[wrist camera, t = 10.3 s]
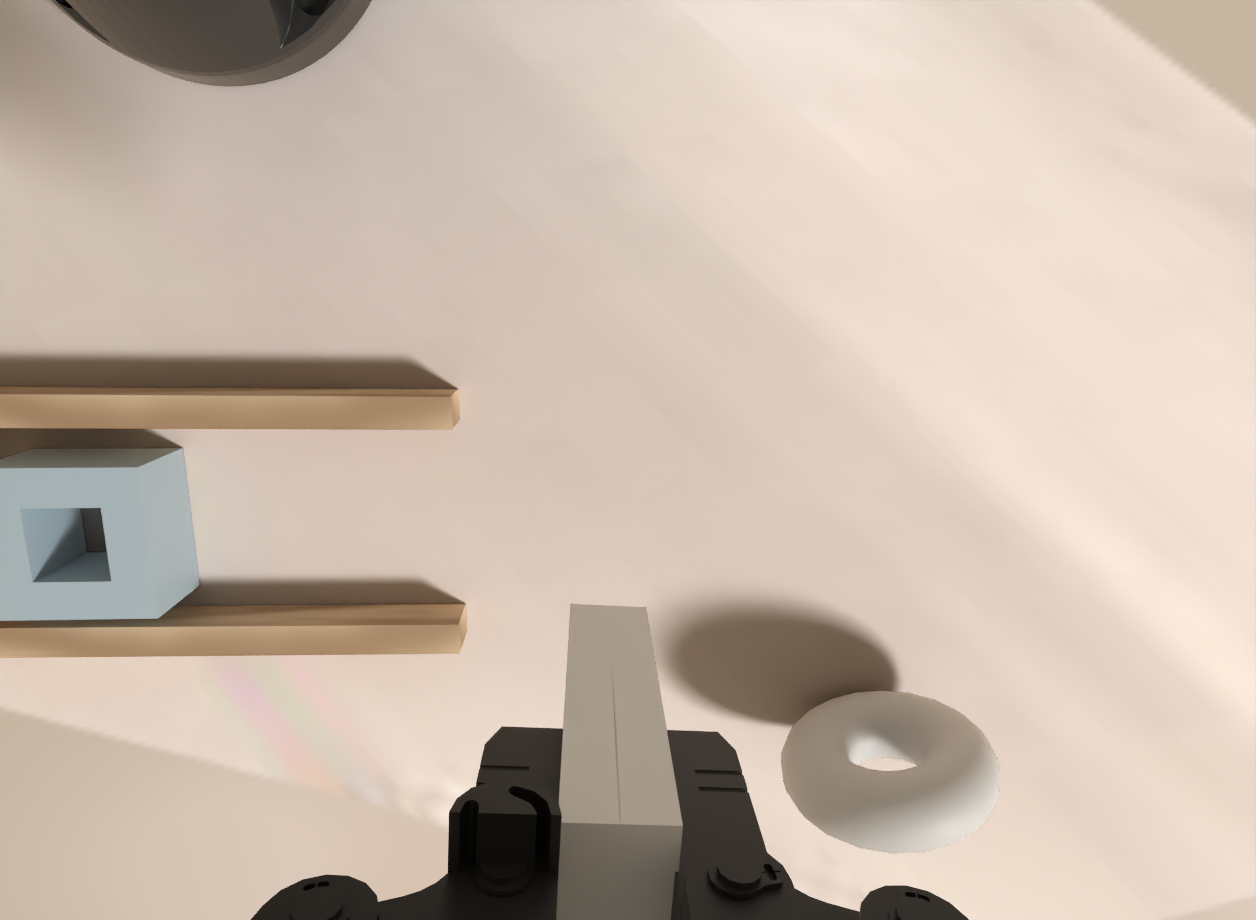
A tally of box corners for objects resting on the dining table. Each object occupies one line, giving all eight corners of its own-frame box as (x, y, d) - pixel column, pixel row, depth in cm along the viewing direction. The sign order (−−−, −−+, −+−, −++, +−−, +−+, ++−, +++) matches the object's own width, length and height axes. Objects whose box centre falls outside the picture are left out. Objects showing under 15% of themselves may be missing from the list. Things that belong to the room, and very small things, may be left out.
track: (-63, 385, 38) (-122, 396, 34) (458, 389, 39) (447, 399, 36) (-18, 635, 40) (-69, 665, 37) (466, 631, 42) (456, 660, 38)
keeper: (32, 448, 38) (-31, 468, 35) (182, 447, 39) (137, 467, 35) (55, 586, 40) (-3, 620, 36) (199, 585, 40) (158, 618, 36)
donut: (765, 752, 44) (815, 889, 34) (758, 695, 43) (807, 819, 33) (946, 722, 44) (1047, 850, 34) (942, 665, 43) (1044, 779, 34)
